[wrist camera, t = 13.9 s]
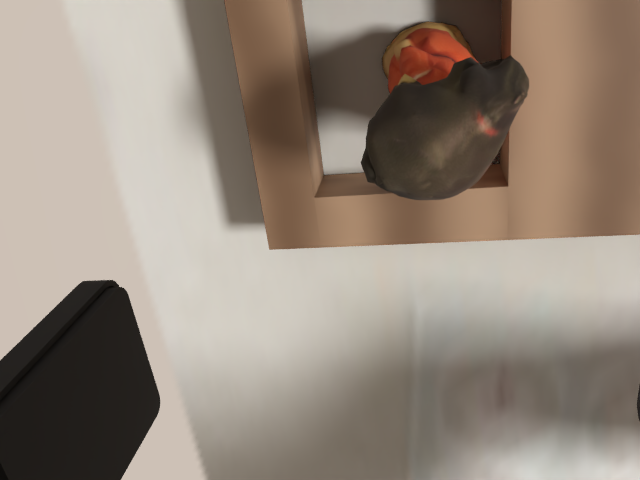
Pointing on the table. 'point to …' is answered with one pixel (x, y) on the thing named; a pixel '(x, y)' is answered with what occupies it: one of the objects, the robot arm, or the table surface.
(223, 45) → the table surface
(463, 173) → the figurine
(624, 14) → the jig
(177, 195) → the table surface
